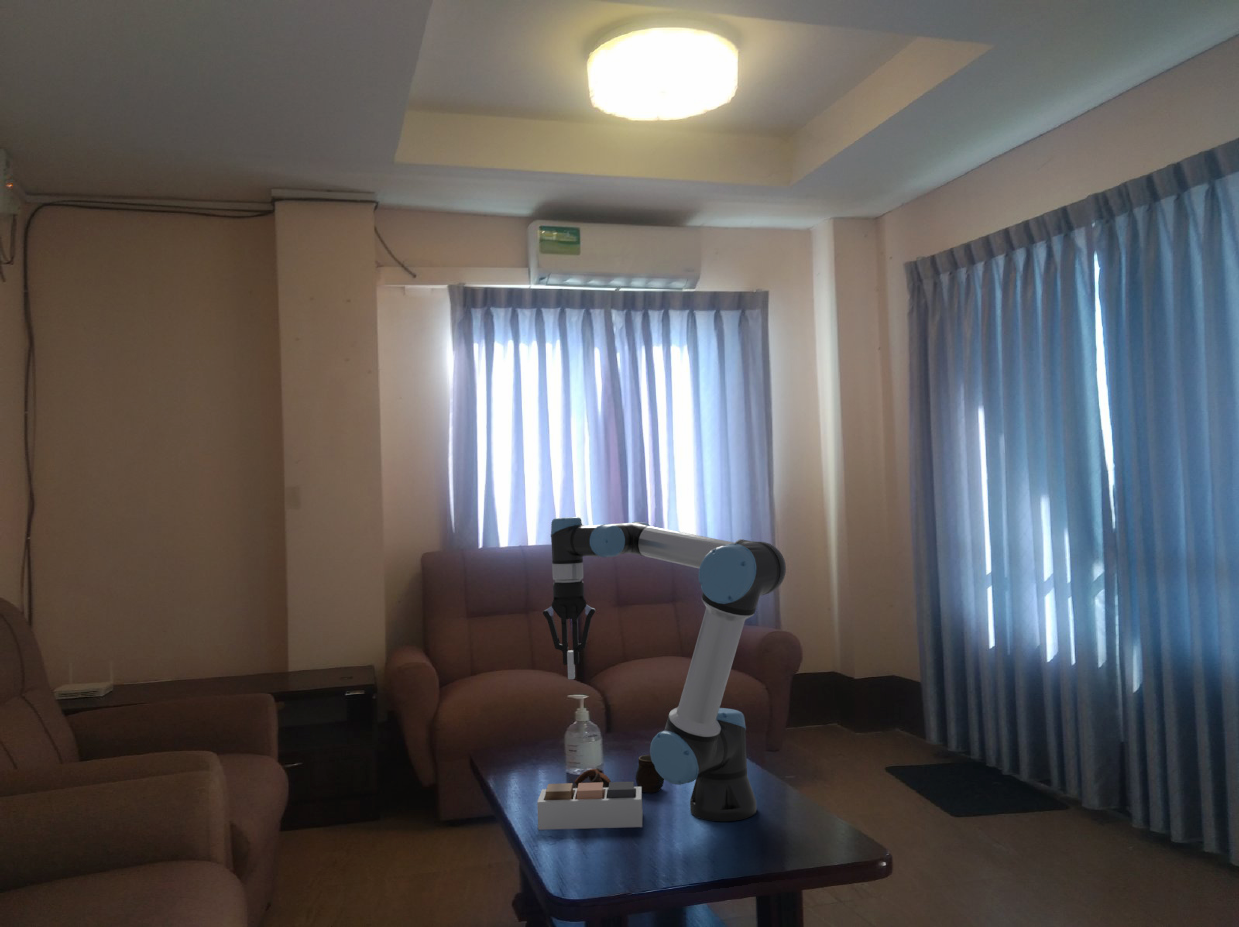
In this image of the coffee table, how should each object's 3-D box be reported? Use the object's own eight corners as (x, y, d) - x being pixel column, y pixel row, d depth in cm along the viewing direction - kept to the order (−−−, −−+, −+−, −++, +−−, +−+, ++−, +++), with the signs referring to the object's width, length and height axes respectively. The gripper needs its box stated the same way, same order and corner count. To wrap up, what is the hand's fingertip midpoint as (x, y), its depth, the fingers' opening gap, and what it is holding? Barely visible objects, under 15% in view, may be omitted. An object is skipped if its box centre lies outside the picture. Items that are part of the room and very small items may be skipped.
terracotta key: (604, 804, 208) (603, 782, 209) (602, 812, 203) (601, 790, 203) (579, 805, 209) (578, 783, 209) (577, 813, 203) (576, 790, 203)
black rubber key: (634, 803, 208) (633, 781, 208) (634, 812, 203) (633, 789, 203) (610, 804, 208) (609, 782, 209) (609, 812, 203) (608, 789, 203)
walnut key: (573, 805, 209) (572, 783, 209) (571, 813, 203) (570, 791, 203) (549, 806, 209) (548, 783, 209) (546, 814, 203) (545, 791, 203)
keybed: (642, 812, 210) (641, 786, 210) (642, 826, 201) (641, 799, 201) (542, 815, 210) (542, 789, 211) (538, 829, 201) (537, 802, 202)
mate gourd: (640, 784, 231) (639, 744, 231) (669, 787, 228) (668, 746, 229) (631, 793, 224) (630, 752, 224) (661, 796, 222) (660, 754, 222)
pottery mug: (619, 807, 216) (601, 780, 214) (584, 824, 217) (567, 797, 215) (619, 779, 228) (603, 753, 226) (587, 795, 229) (570, 769, 227)
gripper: (595, 578, 226) (599, 674, 225) (543, 580, 226) (546, 676, 225) (593, 581, 218) (597, 680, 217) (539, 582, 219) (543, 682, 218)
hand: (571, 678), depth 221 cm, fingers closed
